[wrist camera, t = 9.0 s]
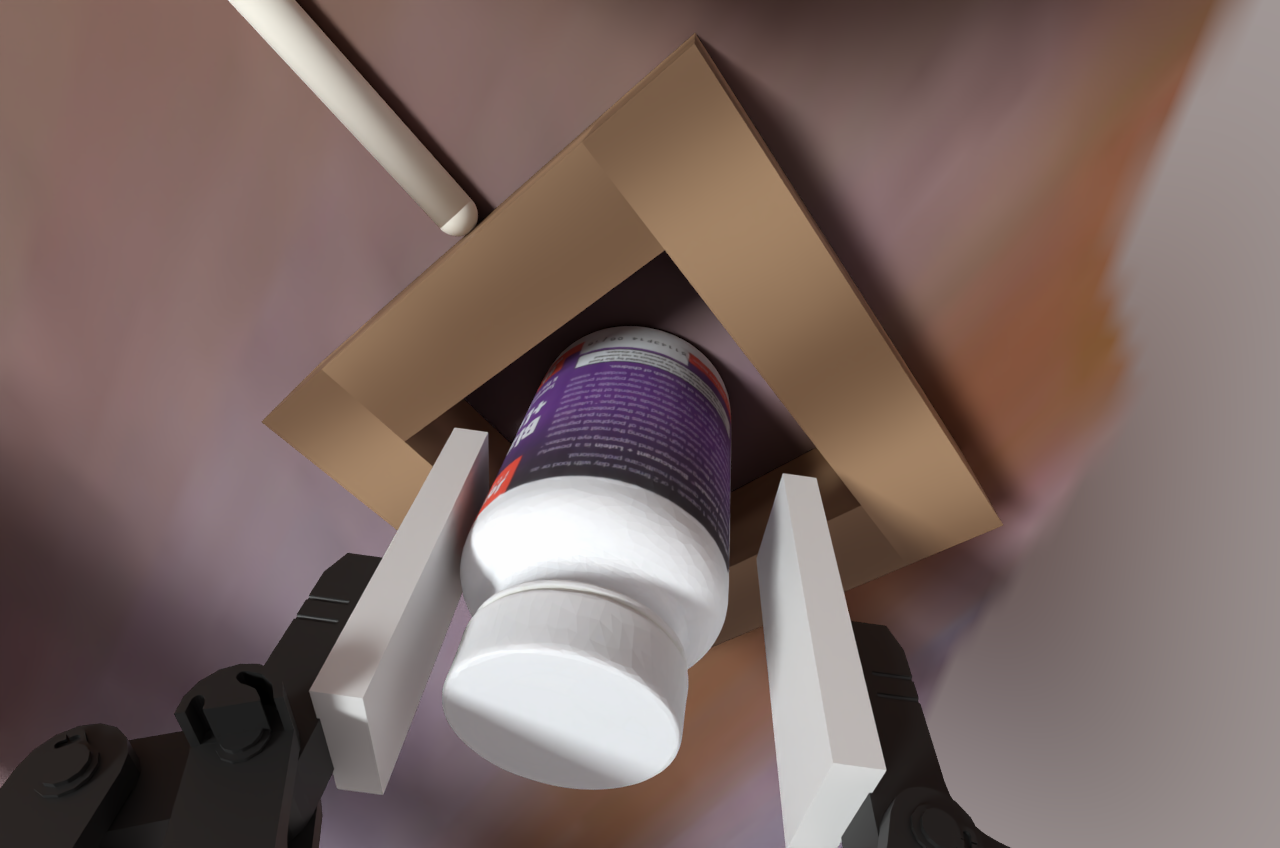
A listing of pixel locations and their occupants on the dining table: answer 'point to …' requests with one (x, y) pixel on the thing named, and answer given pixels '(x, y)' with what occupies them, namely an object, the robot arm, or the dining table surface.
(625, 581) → the pill bottle
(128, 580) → the dining table surface
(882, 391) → the brown square frame
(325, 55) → the white rod
